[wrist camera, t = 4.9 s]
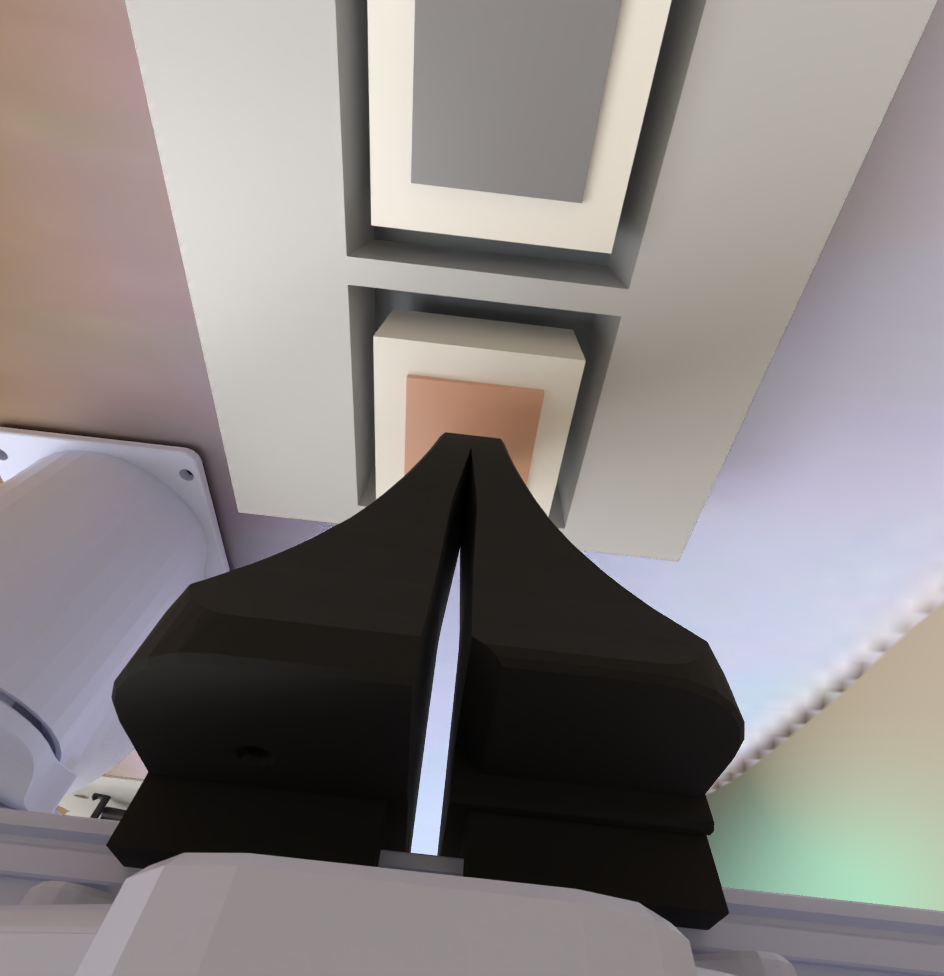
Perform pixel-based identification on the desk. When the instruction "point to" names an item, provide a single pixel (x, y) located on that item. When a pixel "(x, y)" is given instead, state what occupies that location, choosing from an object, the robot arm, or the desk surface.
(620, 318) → the keypad base
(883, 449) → the desk surface
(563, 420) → the key terracotta
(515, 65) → the key charcoal
